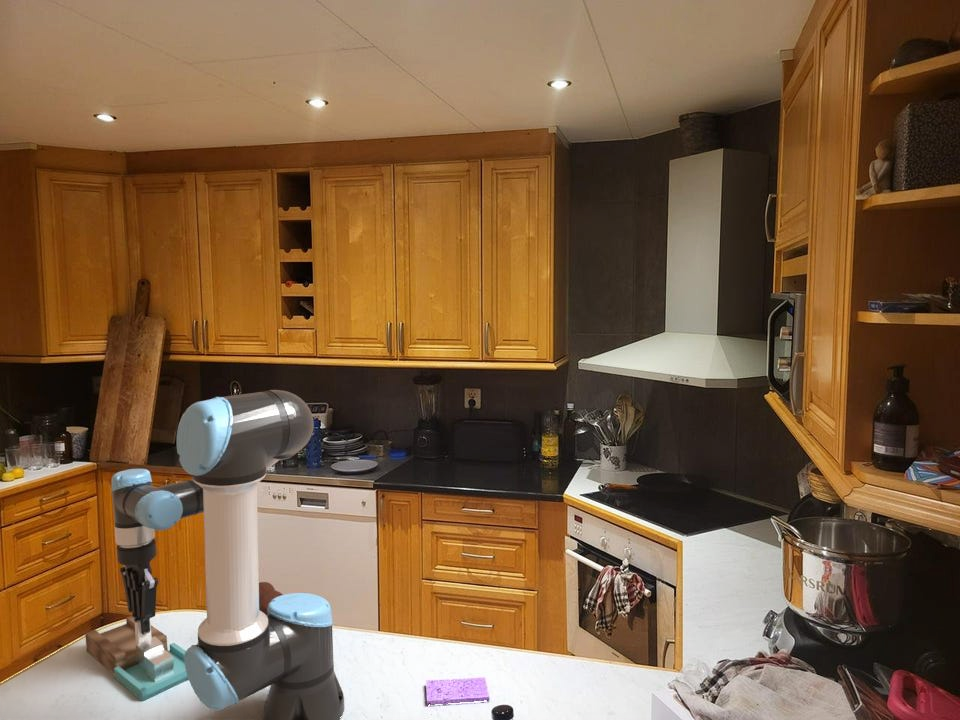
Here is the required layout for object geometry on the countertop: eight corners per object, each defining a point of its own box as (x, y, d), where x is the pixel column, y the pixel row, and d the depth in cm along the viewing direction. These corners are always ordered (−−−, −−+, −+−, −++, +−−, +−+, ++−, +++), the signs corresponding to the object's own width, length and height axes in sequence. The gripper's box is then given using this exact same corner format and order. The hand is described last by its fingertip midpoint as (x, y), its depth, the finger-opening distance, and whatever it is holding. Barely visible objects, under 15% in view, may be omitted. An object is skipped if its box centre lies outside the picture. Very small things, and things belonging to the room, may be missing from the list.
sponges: (426, 688, 140) (425, 679, 139) (486, 684, 141) (486, 675, 141) (426, 709, 133) (426, 700, 132) (490, 704, 134) (489, 696, 134)
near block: (164, 665, 146) (173, 673, 144) (146, 674, 143) (155, 682, 140) (164, 648, 145) (173, 656, 143) (145, 656, 142) (154, 664, 140)
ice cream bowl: (230, 656, 151) (227, 593, 149) (260, 632, 162) (257, 572, 160) (271, 664, 148) (268, 599, 146) (299, 638, 159) (296, 577, 157)
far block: (163, 660, 146) (163, 644, 145) (145, 669, 143) (144, 652, 142) (155, 652, 148) (154, 636, 147) (136, 660, 145) (135, 643, 144)
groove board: (167, 654, 152) (166, 635, 152) (117, 676, 144) (115, 657, 143) (136, 632, 162) (134, 614, 162) (86, 651, 154) (85, 633, 154)
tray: (203, 672, 145) (203, 662, 145) (142, 701, 135) (141, 691, 135) (174, 651, 154) (173, 642, 153) (114, 677, 144) (113, 668, 143)
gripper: (168, 543, 143) (175, 648, 146) (140, 530, 151) (147, 629, 154) (131, 554, 137) (140, 663, 140) (104, 540, 145) (113, 643, 148)
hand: (144, 645), depth 147 cm, fingers closed
